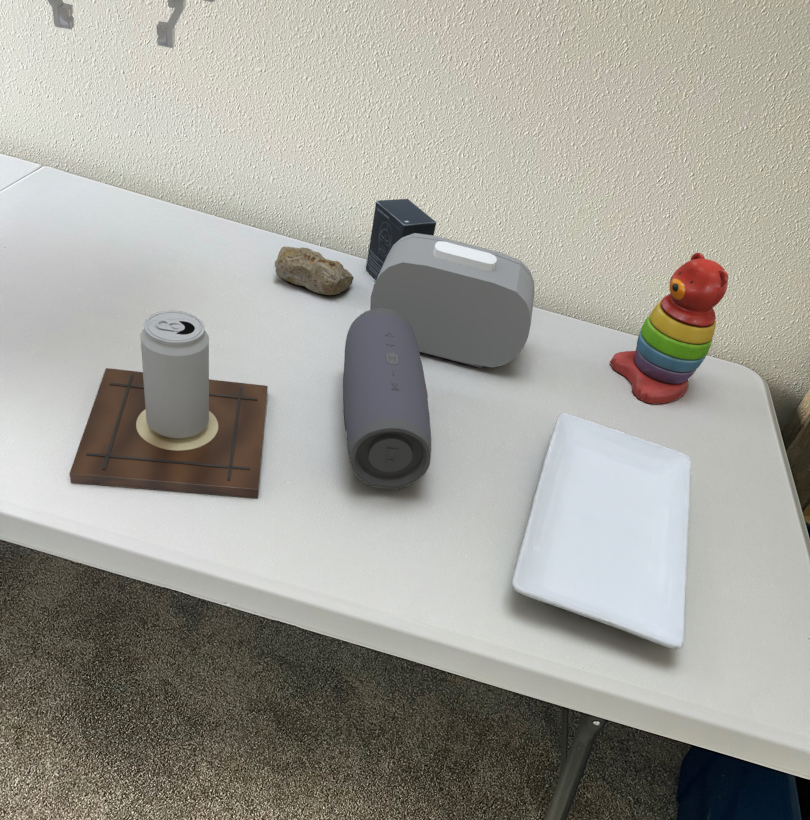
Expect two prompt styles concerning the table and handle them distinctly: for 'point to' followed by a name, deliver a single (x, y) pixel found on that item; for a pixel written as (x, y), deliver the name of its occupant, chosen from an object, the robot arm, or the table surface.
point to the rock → (312, 271)
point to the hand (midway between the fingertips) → (116, 36)
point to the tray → (610, 531)
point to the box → (394, 229)
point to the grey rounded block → (458, 298)
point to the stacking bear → (675, 333)
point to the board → (173, 441)
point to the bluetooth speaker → (385, 401)
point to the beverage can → (175, 373)
